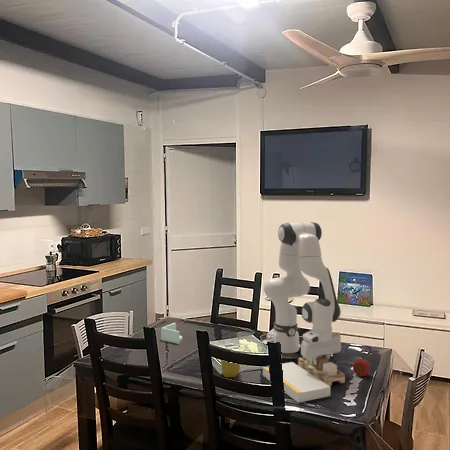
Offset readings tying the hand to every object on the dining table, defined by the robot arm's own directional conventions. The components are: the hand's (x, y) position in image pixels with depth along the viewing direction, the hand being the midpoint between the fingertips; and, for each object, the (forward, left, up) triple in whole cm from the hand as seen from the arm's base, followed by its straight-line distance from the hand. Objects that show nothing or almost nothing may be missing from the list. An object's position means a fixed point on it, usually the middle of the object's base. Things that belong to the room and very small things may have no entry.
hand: (320, 363), depth 227 cm
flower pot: (-18, -38, -6) cm, 42 cm away
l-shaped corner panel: (-75, -44, -7) cm, 88 cm away
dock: (+3, -16, -6) cm, 17 cm away
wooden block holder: (0, 0, -5) cm, 5 cm away
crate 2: (+7, 0, -2) cm, 7 cm away
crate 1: (-6, 0, -2) cm, 7 cm away
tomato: (+6, +18, -6) cm, 20 cm away
